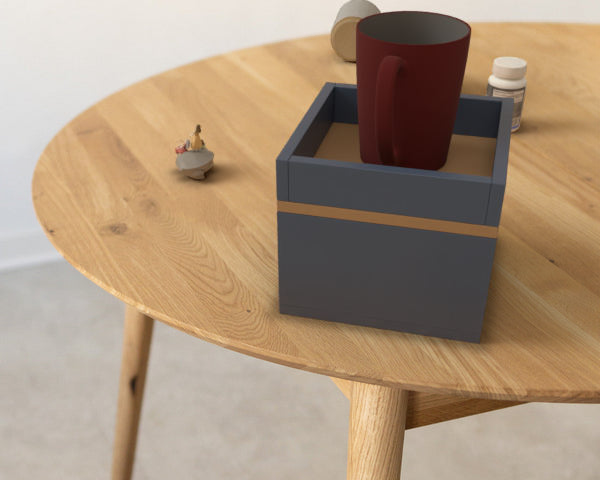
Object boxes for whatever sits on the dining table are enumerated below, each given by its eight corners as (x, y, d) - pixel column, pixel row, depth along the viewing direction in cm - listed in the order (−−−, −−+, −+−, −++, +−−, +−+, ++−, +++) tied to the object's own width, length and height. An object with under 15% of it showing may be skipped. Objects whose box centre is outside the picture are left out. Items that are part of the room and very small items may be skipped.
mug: (433, 206, 60) (448, 64, 53) (324, 187, 63) (326, 49, 56) (465, 144, 69) (481, 17, 63) (369, 130, 72) (375, 6, 65)
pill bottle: (485, 117, 102) (494, 53, 97) (522, 122, 101) (533, 57, 96) (478, 130, 99) (487, 65, 94) (515, 136, 97) (527, 70, 92)
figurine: (204, 186, 86) (200, 135, 83) (168, 180, 88) (162, 130, 84) (222, 166, 91) (219, 117, 87) (188, 161, 92) (183, 112, 88)
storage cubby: (491, 239, 77) (514, 98, 69) (479, 344, 64) (506, 184, 55) (323, 218, 81) (326, 81, 72) (279, 313, 67) (275, 159, 59)
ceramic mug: (327, 62, 119) (329, 11, 115) (335, 46, 126) (337, -4, 121) (397, 67, 118) (401, 15, 113) (401, 50, 125) (405, 0, 120)
